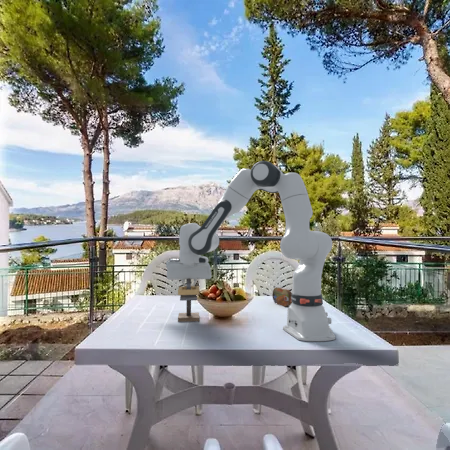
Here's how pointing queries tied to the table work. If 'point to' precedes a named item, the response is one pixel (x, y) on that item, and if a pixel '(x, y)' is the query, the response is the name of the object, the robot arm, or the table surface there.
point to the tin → (282, 296)
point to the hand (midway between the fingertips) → (189, 289)
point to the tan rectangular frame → (188, 290)
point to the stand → (188, 306)
